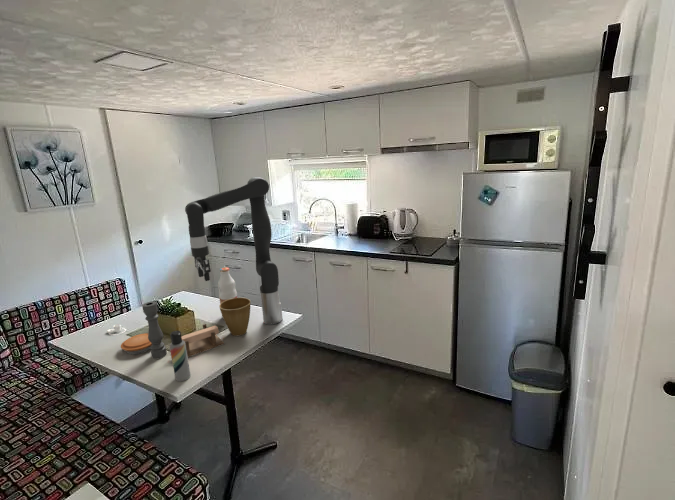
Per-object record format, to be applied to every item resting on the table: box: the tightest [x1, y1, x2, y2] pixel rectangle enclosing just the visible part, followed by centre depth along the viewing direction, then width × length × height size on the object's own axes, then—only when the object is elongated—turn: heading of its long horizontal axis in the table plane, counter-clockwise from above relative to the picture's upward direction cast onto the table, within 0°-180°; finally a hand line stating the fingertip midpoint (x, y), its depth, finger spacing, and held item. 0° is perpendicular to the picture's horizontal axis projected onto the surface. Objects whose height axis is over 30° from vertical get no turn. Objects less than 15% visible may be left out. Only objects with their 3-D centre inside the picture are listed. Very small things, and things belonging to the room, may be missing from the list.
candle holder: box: [141, 301, 168, 360], centre depth 160 cm, size 6×6×25 cm
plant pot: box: [219, 297, 251, 337], centre depth 178 cm, size 15×15×16 cm
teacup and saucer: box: [106, 323, 127, 336], centre depth 189 cm, size 9×8×4 cm
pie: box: [120, 332, 152, 355], centre depth 170 cm, size 16×16×5 cm
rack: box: [185, 323, 225, 358], centre depth 168 cm, size 20×14×7 cm
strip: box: [181, 325, 220, 343], centre depth 165 cm, size 18×4×3 cm, turn 129°
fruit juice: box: [217, 267, 238, 319], centre depth 197 cm, size 9×9×28 cm
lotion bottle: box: [169, 330, 192, 382], centre depth 142 cm, size 6×6×20 cm
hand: (204, 278), depth 171 cm, fingers open, 8 cm apart
